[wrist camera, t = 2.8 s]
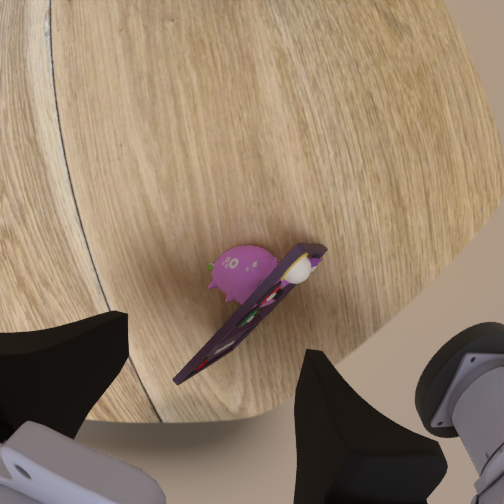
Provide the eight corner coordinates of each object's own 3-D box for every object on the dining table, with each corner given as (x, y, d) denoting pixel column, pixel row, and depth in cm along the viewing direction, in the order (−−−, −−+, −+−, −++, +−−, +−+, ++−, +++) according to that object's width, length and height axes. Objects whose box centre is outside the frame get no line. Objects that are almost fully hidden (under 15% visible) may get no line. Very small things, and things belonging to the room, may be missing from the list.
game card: (186, 398, 14) (318, 262, 12) (121, 319, 16) (226, 177, 13) (240, 358, 21) (337, 258, 18) (188, 302, 22) (273, 199, 20)
